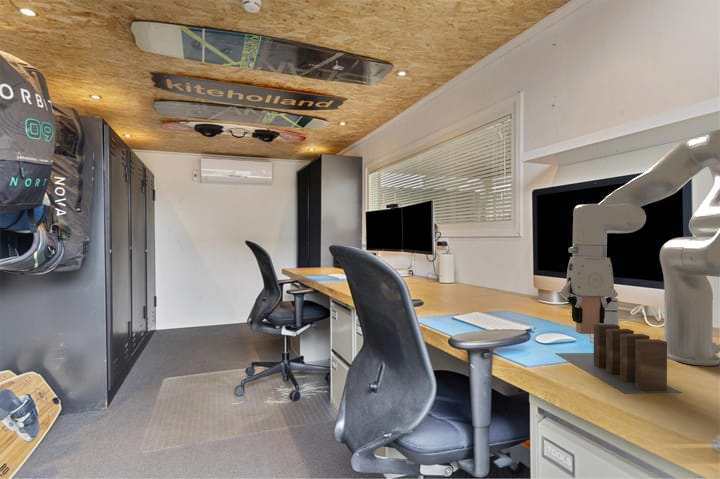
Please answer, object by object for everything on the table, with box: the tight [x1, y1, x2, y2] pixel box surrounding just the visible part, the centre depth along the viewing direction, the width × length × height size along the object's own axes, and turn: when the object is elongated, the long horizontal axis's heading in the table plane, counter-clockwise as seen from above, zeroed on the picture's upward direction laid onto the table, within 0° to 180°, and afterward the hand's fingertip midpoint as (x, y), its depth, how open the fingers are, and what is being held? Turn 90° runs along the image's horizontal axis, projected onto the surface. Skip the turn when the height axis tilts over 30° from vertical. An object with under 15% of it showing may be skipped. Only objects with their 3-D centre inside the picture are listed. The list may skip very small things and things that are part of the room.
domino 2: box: [593, 324, 621, 368], centre depth 91 cm, size 2×5×10 cm, turn 91°
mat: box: [554, 352, 684, 395], centre depth 88 cm, size 12×26×1 cm, turn 1°
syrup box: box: [589, 297, 620, 345], centre depth 110 cm, size 6×6×14 cm
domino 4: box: [620, 333, 651, 383], centre depth 82 cm, size 2×5×10 cm, turn 91°
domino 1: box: [575, 297, 600, 335], centre depth 97 cm, size 2×5×10 cm, turn 91°
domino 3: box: [606, 328, 635, 375], centre depth 86 cm, size 2×5×10 cm, turn 91°
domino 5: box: [635, 338, 668, 391], centre depth 77 cm, size 2×5×10 cm, turn 91°
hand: (588, 321), depth 97 cm, fingers closed on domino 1, 4 cm apart
